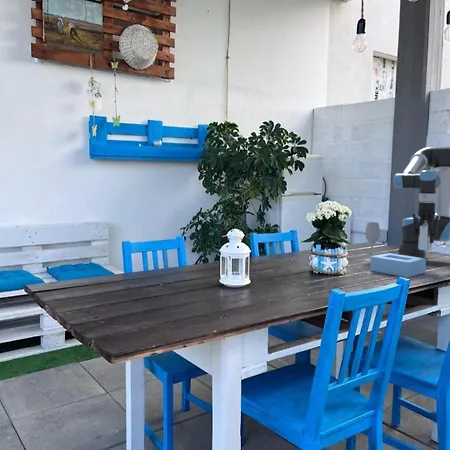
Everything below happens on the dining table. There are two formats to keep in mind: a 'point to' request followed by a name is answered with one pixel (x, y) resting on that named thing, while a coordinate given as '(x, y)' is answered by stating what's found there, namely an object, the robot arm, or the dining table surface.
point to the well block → (398, 264)
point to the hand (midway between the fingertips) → (424, 248)
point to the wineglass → (372, 235)
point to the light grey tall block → (424, 237)
